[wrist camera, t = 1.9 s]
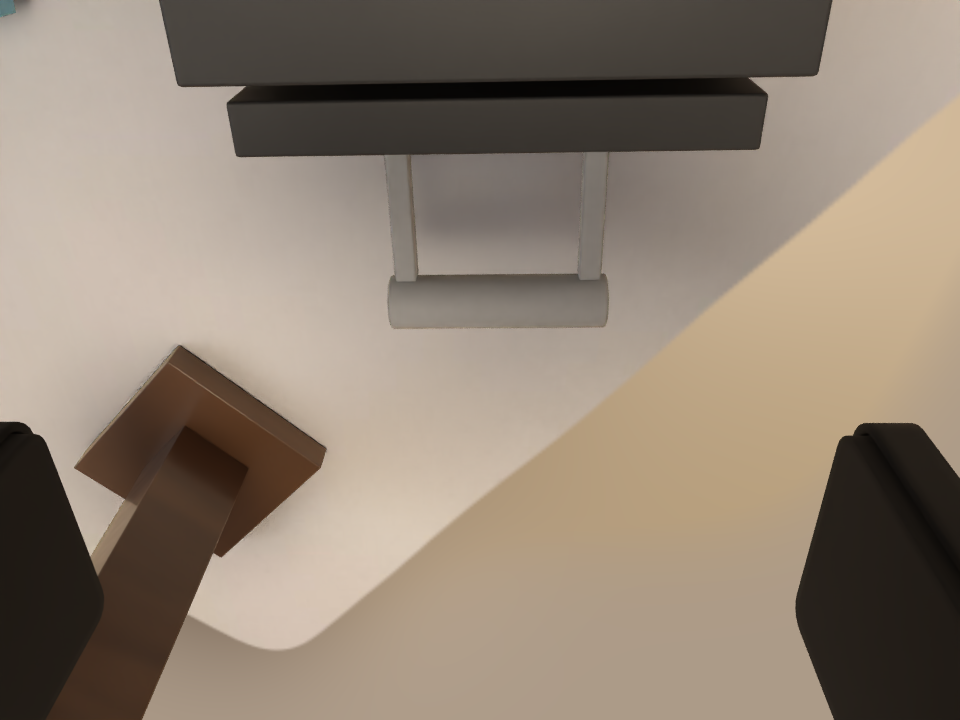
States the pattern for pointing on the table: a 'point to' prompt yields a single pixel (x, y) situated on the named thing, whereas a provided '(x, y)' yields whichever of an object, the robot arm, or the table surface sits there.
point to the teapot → (6, 7)
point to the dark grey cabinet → (489, 40)
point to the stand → (173, 520)
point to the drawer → (488, 130)
